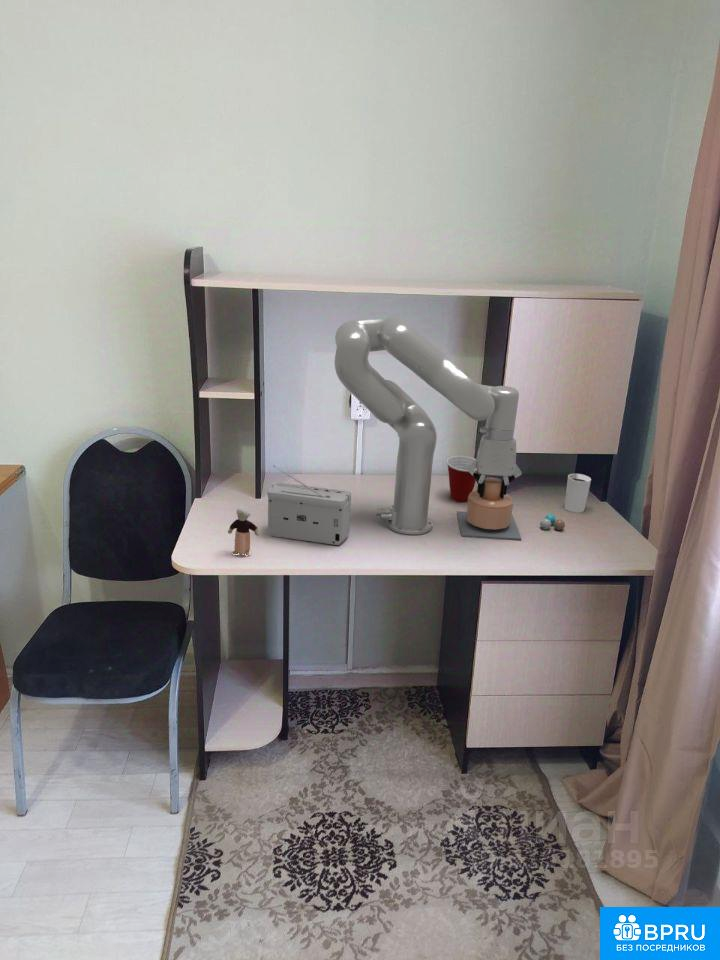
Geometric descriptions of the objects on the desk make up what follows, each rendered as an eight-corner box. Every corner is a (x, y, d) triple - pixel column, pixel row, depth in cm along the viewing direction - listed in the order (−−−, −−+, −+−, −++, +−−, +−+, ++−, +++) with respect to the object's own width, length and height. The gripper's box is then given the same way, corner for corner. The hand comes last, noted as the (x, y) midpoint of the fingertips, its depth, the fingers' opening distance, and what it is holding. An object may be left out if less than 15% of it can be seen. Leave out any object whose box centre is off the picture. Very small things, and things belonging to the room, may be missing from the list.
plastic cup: (450, 506, 215) (454, 468, 211) (437, 493, 225) (441, 456, 220) (484, 504, 218) (489, 467, 214) (469, 491, 228) (474, 455, 223)
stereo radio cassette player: (349, 535, 194) (353, 465, 186) (342, 549, 186) (346, 476, 179) (274, 525, 197) (275, 455, 190) (264, 537, 190) (264, 465, 182)
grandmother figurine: (227, 557, 178) (226, 510, 174) (228, 550, 182) (227, 503, 177) (258, 557, 179) (258, 510, 175) (259, 550, 183) (259, 504, 178)
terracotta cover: (468, 527, 197) (473, 487, 193) (464, 510, 209) (468, 471, 204) (512, 530, 197) (518, 490, 193) (506, 512, 208) (511, 474, 204)
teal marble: (545, 526, 206) (546, 516, 205) (543, 521, 208) (544, 512, 207) (555, 526, 206) (557, 517, 205) (553, 522, 208) (555, 512, 207)
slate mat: (461, 536, 196) (461, 534, 196) (456, 512, 211) (457, 511, 211) (521, 540, 196) (521, 538, 196) (512, 516, 211) (512, 514, 211)
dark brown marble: (554, 531, 203) (555, 521, 202) (552, 527, 205) (553, 517, 204) (565, 532, 203) (566, 522, 201) (562, 527, 205) (564, 518, 204)
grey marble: (540, 530, 203) (542, 520, 202) (538, 526, 205) (540, 516, 204) (551, 531, 203) (552, 521, 202) (549, 526, 205) (550, 517, 204)
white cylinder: (573, 514, 215) (578, 482, 211) (558, 505, 220) (563, 475, 217) (590, 511, 217) (596, 480, 214) (575, 503, 223) (580, 472, 219)
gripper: (468, 435, 190) (461, 499, 197) (533, 439, 190) (524, 503, 197) (465, 426, 197) (458, 489, 204) (528, 431, 197) (519, 493, 204)
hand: (491, 495), depth 200 cm, fingers closed on terracotta cover, 5 cm apart
